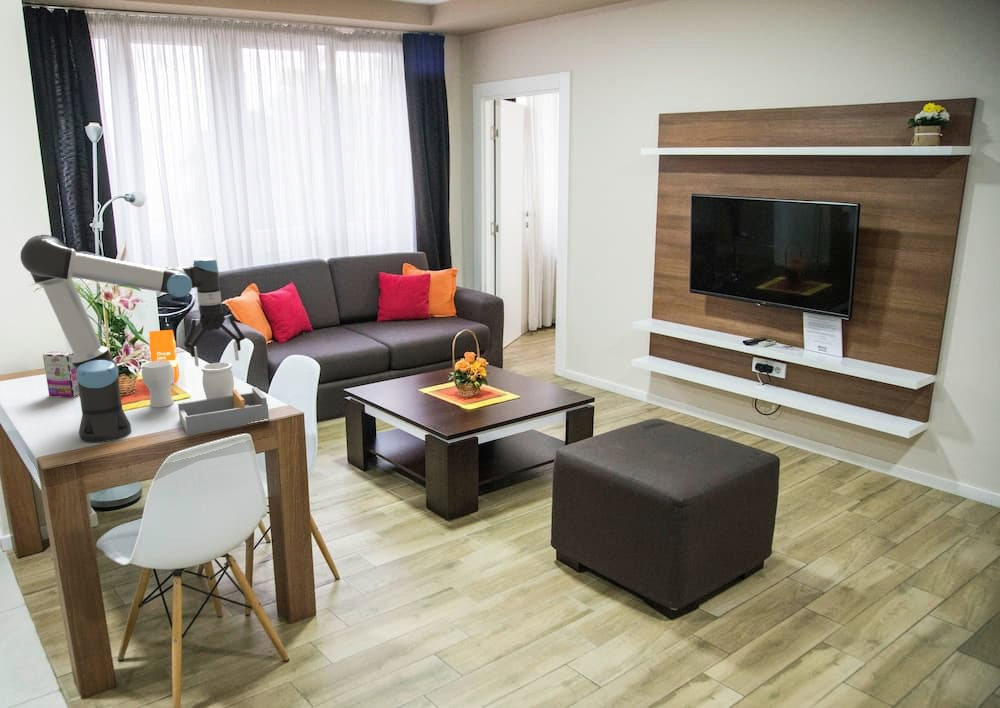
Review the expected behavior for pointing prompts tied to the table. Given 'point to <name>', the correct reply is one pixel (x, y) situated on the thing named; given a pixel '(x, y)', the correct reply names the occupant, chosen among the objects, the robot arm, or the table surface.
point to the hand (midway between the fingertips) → (217, 362)
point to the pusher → (238, 400)
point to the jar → (217, 380)
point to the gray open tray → (222, 412)
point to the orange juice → (164, 349)
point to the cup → (159, 382)
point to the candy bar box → (61, 374)
